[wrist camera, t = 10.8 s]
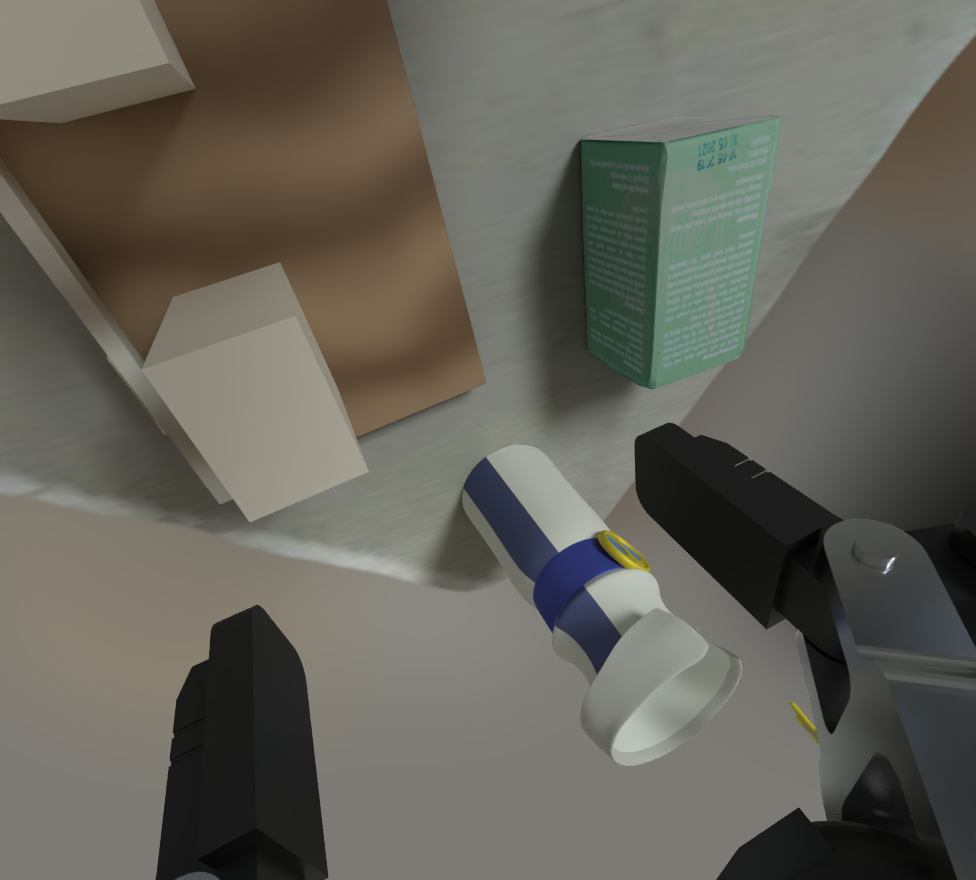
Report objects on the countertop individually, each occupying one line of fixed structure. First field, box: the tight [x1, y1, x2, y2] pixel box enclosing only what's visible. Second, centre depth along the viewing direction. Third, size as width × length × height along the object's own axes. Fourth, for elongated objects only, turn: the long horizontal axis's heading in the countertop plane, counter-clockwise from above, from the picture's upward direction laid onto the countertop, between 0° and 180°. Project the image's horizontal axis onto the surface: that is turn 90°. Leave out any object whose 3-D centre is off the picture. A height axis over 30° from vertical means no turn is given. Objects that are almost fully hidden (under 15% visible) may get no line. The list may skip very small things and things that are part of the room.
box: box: [581, 116, 782, 389], centre depth 30 cm, size 7×14×8 cm, turn 9°
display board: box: [0, 0, 486, 504], centre depth 23 cm, size 24×17×2 cm
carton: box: [142, 262, 369, 522], centre depth 22 cm, size 7×5×9 cm
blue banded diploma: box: [462, 445, 819, 766], centre depth 29 cm, size 8×9×25 cm
